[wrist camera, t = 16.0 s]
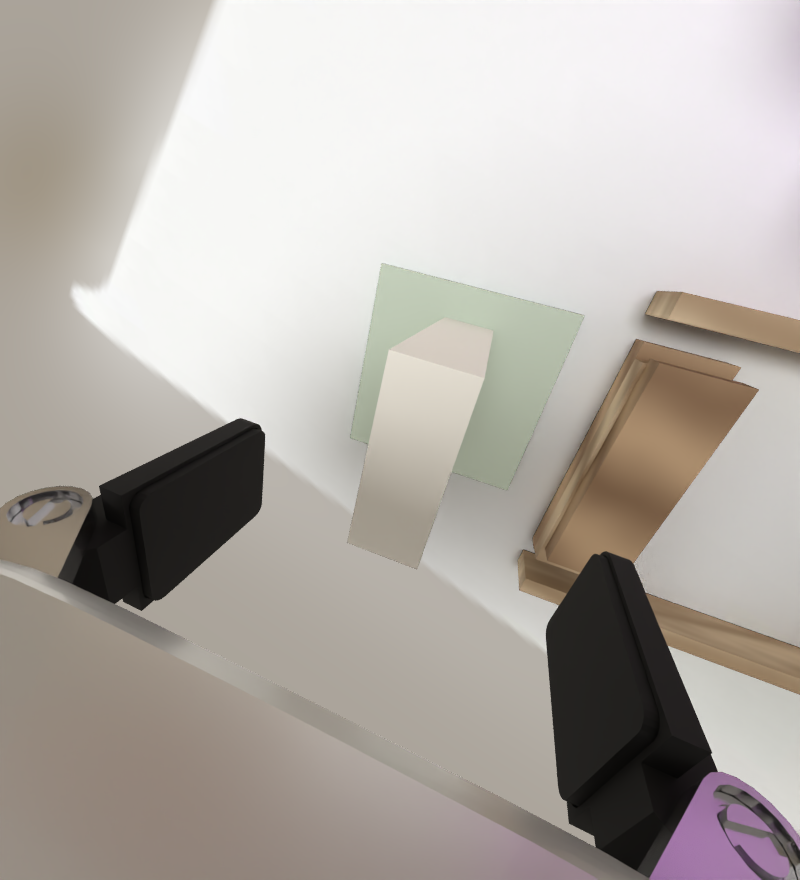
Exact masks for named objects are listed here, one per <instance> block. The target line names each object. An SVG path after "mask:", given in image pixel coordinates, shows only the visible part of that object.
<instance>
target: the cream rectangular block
mask: <svg viewBox="0 0 800 880" xmlns="http://www.w3.org/2000/svg"><path fill="white" fill-rule="evenodd" d="M492 336H493V330H490V329H486V328H483V327H479V326H475V325H472V324H468V323H465V322H461V321H458V320H454V319H450V318H447V317H444V318H443V319H441V320H439V321H437V322H436V323H434V324H432V325H431V326H429V327H427V328H425V329H424V330H422V331H420V332H418V333H417V334H415V335H413V336H411V337H410V338H408V339H406V340H405V341H403V342H401V343H399V344H398V345H396V346H394V347H392V348H391V349H389V351H388V356H387V360H386V365H385V369H384V374H383V379H382V383H381V388H380V393H379V397H378V402H377V407H376V411H375V416H374V420H373V425H372V430H371V434H370V439H369V444H368V448H367V453H366V457H365V462H364V467H363V471H362V476H361V481H360V485H359V490H358V495H357V499H356V504H355V508H354V513H353V518H352V522H351V527H350V532H349V536H348V541H347V543H349V544H352V545H355V546H357V547H360V548H362V549H365V550H368V551H370V552H373V553H375V554H378V555H380V556H383V557H386V558H388V559H391V560H394V561H396V562H399V563H401V564H404V565H407V566H409V567H412V568H414V569H417V568H418V565H419V563H420V560H421V557H422V554H423V551H424V548H425V546H426V543H427V540H428V537H429V534H430V531H431V529H432V526H433V523H434V520H435V517H436V514H437V512H438V509H439V506H440V503H441V500H442V497H443V495H444V492H445V489H446V486H447V483H448V480H449V478H450V475H451V472H452V469H453V466H454V463H455V461H456V458H457V455H458V452H459V449H460V446H461V444H462V441H463V438H464V435H465V432H466V429H467V427H468V424H469V421H470V418H471V415H472V412H473V410H474V407H475V404H476V401H477V398H478V395H479V393H480V390H481V387H482V384H483V381H484V378H485V373H486V368H487V363H488V357H489V352H490V347H491V341H492Z"/></svg>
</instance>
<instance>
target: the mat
mask: <svg viewBox="0 0 800 880" xmlns="http://www.w3.org/2000/svg"><path fill="white" fill-rule="evenodd" d="M444 317H447V318H450V319H454V320H458V321H461V322H465V323H468V324H472V325H475V326H479V327H483V328H486V329H490V330H493V336H492V341H491V347H490V352H489V357H488V363H487V368H486V373H485V378H484V381H483V384H482V387H481V390H480V393H479V395H478V398H477V401H476V404H475V407H474V410H473V412H472V415H471V418H470V421H469V424H468V427H467V429H466V432H465V435H464V438H463V441H462V444H461V446H460V449H459V452H458V455H457V458H456V461H455V463H454V466H453V469H452V472H453V473H456V474H459V475H462V476H465V477H468V478H471V479H474V480H477V481H480V482H483V483H486V484H489V485H492V486H495V487H498V488H501V489H504V490H508V488H509V486H510V483H511V481H512V479H513V477H514V474H515V472H516V470H517V468H518V465H519V463H520V461H521V459H522V456H523V454H524V452H525V450H526V447H527V445H528V443H529V441H530V438H531V436H532V434H533V432H534V429H535V427H536V425H537V423H538V420H539V418H540V416H541V414H542V411H543V409H544V407H545V404H546V402H547V400H548V398H549V395H550V393H551V391H552V389H553V386H554V384H555V382H556V380H557V377H558V375H559V373H560V371H561V368H562V366H563V364H564V362H565V359H566V357H567V355H568V353H569V350H570V348H571V346H572V344H573V341H574V339H575V337H576V335H577V332H578V330H579V328H580V326H581V323H582V321H583V319H584V315H581V314H577V313H573V312H569V311H565V310H561V309H557V308H554V307H550V306H546V305H542V304H538V303H534V302H530V301H526V300H523V299H519V298H515V297H511V296H507V295H503V294H499V293H495V292H492V291H488V290H484V289H480V288H476V287H472V286H468V285H464V284H460V283H457V282H453V281H449V280H445V279H441V278H437V277H433V276H429V275H426V274H422V273H418V272H414V271H410V270H406V269H402V268H398V267H395V266H391V265H387V264H382V263H381V269H380V274H379V280H378V285H377V291H376V297H375V302H374V308H373V313H372V319H371V324H370V330H369V335H368V341H367V346H366V352H365V358H364V363H363V369H362V374H361V380H360V385H359V391H358V396H357V402H356V407H355V413H354V419H353V424H352V430H351V435H350V438H351V439H354V440H357V441H360V442H363V443H366V444H369V439H370V434H371V430H372V425H373V420H374V416H375V411H376V407H377V402H378V397H379V393H380V388H381V383H382V379H383V374H384V369H385V365H386V360H387V356H388V351H389V349H391V348H392V347H394V346H396V345H398V344H399V343H401V342H403V341H405V340H406V339H408V338H410V337H411V336H413V335H415V334H417V333H418V332H420V331H422V330H424V329H425V328H427V327H429V326H431V325H432V324H434V323H436V322H437V321H439V320H441V319H443V318H444Z"/></svg>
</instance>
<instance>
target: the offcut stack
mask: <svg viewBox="0 0 800 880" xmlns="http://www.w3.org/2000/svg"><path fill="white" fill-rule="evenodd" d="M740 368H741V367H738V366H735V365H732V364H729V363H726V362H722V361H718V360H715V359H711V358H707V357H703V356H699V355H696V354H692V353H688V352H684V351H680V350H676V349H673V348H669V347H665V346H661V345H657V344H653V343H650V342H646V341H642V340H638V339H636V341H635V343H634V345H633V346H632V348H631V350H630V352H629V354H628V356H627V358H626V360H625V362H624V364H623V366H622V368H621V369H620V371H619V373H618V375H617V377H616V379H615V381H614V383H613V385H612V387H611V389H610V391H609V392H608V394H607V396H606V398H605V400H604V402H603V404H602V406H601V408H600V410H599V412H598V414H597V415H596V417H595V419H594V421H593V423H592V425H591V427H590V429H589V431H588V433H587V435H586V436H585V438H584V440H583V442H582V444H581V446H580V448H579V450H578V452H577V454H576V456H575V458H574V459H573V461H572V463H571V465H570V467H569V469H568V471H567V473H566V475H565V477H564V479H563V481H562V482H561V484H560V486H559V488H558V490H557V492H556V494H555V496H554V498H553V500H552V502H551V504H550V505H549V507H548V509H547V511H546V513H545V515H544V517H543V519H542V521H541V523H540V525H539V527H538V528H537V530H536V532H535V534H534V536H533V546H534V549H535V557H536V559H537V560H540V561H543V562H545V563H548V564H551V565H554V566H557V567H559V568H562V569H565V570H568V571H571V572H573V573H576V574H580V573H581V571H582V570H583V568H584V567H585V565H586V563H587V562H588V560H589V559H590V557H591V556H592V555H593V554H598V555H600V554H601V553H602V552H604V551H607V552H610V553H612V554H615V555H618V556H621V557H623V558H626V559H629V560H631V561H632V563H634V562H635V560H636V559H637V558H638V556H639V555H640V553H641V552H642V551H643V549H644V548H645V547H646V545H647V544H648V542H649V541H650V540H651V538H652V537H653V536H654V534H655V533H656V531H657V530H658V529H659V527H660V526H661V524H662V523H663V522H664V520H665V519H666V518H667V516H668V515H669V513H670V512H671V511H672V509H673V508H674V507H675V505H676V504H677V502H678V501H679V500H680V498H681V497H682V496H683V494H684V493H685V491H686V490H687V489H688V487H689V486H690V484H691V483H692V482H693V480H694V479H695V478H696V476H697V475H698V473H699V472H700V471H701V469H702V468H703V467H704V465H705V464H706V462H707V461H708V460H709V458H710V457H711V456H712V454H713V453H714V451H715V450H716V449H717V447H718V446H719V444H720V443H721V442H722V440H723V439H724V438H725V436H726V435H727V433H728V432H729V431H730V429H731V428H732V427H733V425H734V424H735V422H736V421H737V420H738V418H739V417H740V415H741V414H742V413H743V411H744V410H745V409H746V407H747V406H748V404H749V403H750V402H751V400H752V399H753V398H754V396H755V395H756V393H757V392H758V391H759V390H758V389H756V388H754V387H751V386H749V385H746V384H744V383H740V382H737V381H733V379H734V377H735V376H736V374H737V373H738V371H739V370H740Z"/></svg>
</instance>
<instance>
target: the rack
mask: <svg viewBox="0 0 800 880" xmlns="http://www.w3.org/2000/svg"><path fill="white" fill-rule="evenodd" d="M645 314H646V315H650V316H654V317H658V318H662V319H666V320H670V321H674V322H678V323H682V324H686V325H690V326H694V327H698V328H701V329H705V330H709V331H713V332H717V333H721V334H725V335H729V336H733V337H737V338H741V339H745V340H749V341H753V342H757V343H761V344H765V345H769V346H773V347H777V348H781V349H785V350H789V351H793V352H797V353H800V320H796V319H792V318H788V317H784V316H780V315H776V314H771V313H767V312H763V311H759V310H755V309H751V308H746V307H742V306H738V305H734V304H730V303H726V302H721V301H717V300H713V299H709V298H705V297H701V296H696V295H692V294H688V293H684V292H668V291H657V292H656V294H655V296H654V298H653V300H652V302H651V304H650V306H649V307H648V309H647V311H646V313H645ZM578 576H579V574H576V573H573V572H571V571H568V570H565V569H562V568H559V567H557V566H554V565H551V564H548V563H545V562H543V561H540V560H537V559H536V557H535V554H534V553H531V552H529V551H526V550H523V551H522V553H521V555H520V557H519V559H518V577H519V590H520V591H523V592H525V593H528V594H531V595H533V596H536V597H539V598H541V599H544V600H547V601H550V602H552V603H555V604H558V605H560V604H561V602H562V600H563V599H564V597H565V596H566V594H567V593H568V591H569V590H570V588H571V587H572V585H573V583H574V582H575V580H576V579H577V577H578ZM646 595H647V598H648V600H649V602H650V605H651V607H652V610H653V612H654V615H655V617H656V619H657V622H658V624H659V627H660V629H661V631H662V634H663V636H664V639H665V641H666V643H667V645H668V646H671V647H673V648H676V649H679V650H681V651H684V652H687V653H689V654H692V655H695V656H697V657H700V658H703V659H705V660H708V661H711V662H714V663H716V664H719V665H722V666H724V667H727V668H730V669H732V670H735V671H738V672H740V673H743V674H746V675H749V676H751V677H754V678H757V679H759V680H762V681H765V682H767V683H770V684H773V685H775V686H778V687H781V688H783V689H786V690H789V691H792V692H794V693H797V694H800V648H799V647H796V646H793V645H790V644H787V643H785V642H782V641H779V640H776V639H773V638H770V637H768V636H765V635H762V634H759V633H756V632H754V631H751V630H748V629H745V628H742V627H740V626H737V625H734V624H731V623H728V622H725V621H723V620H720V619H717V618H714V617H711V616H709V615H706V614H703V613H700V612H697V611H695V610H692V609H689V608H686V607H683V606H680V605H678V604H675V603H672V602H669V601H666V600H664V599H661V598H658V597H655V596H652V595H650V594H647V593H646Z"/></svg>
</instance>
